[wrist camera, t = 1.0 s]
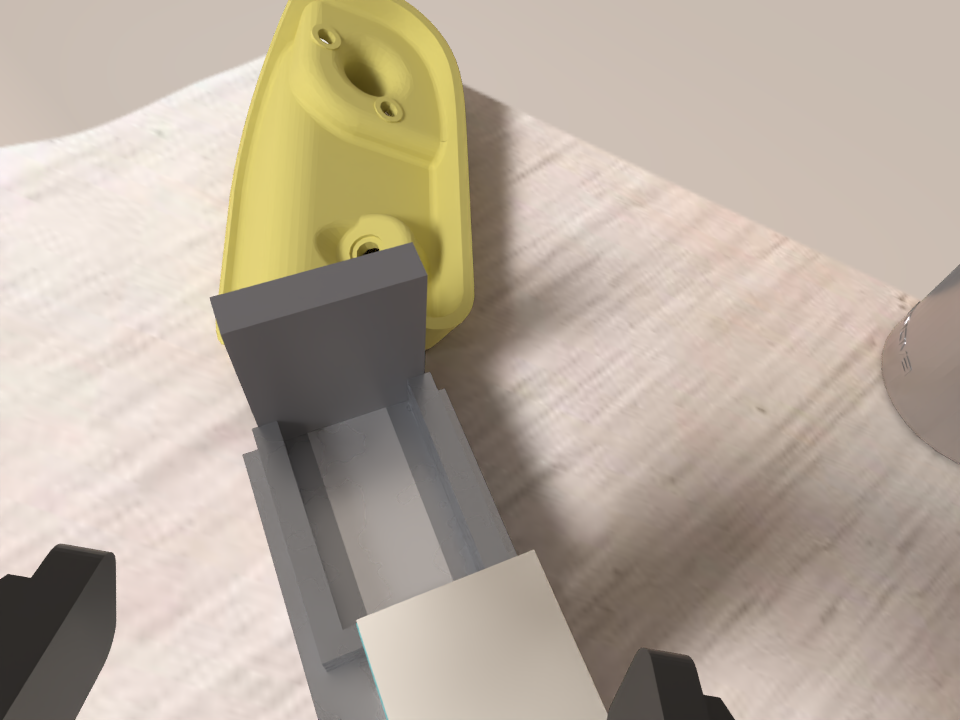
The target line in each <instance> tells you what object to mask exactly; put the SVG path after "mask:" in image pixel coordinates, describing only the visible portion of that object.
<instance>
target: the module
mask: <svg viewBox="0 0 960 720" xmlns="http://www.w3.org/2000/svg"><path fill="white" fill-rule="evenodd" d="M356 621H357V623H356V626H357V629H358V632H359V635H360V638H361V641H362V645H363V648H364V651H365V654H366V657H367V660H368V663H369V666H370V669H371V672H372V675H373V679H374V682H375V685H376V688H377V691H378V694H379V697H380V700H381V703H382V706H383V710H384V713H385V716H386V719H387V720H607V716H608V714H607V712H606V710H605V707H604V705H603V703H602V701H601V698H600V696H599V694H598V692H597V689H596V687H595V685H594V683H593V680H592V678H591V676H590V674H589V671H588V669H587V667H586V665H585V662H584V660H583V658H582V656H581V653H580V651H579V649H578V647H577V645H576V642H575V640H574V638H573V636H572V633H571V631H570V629H569V627H568V624H567V622H566V620H565V618H564V615H563V613H562V611H561V609H560V606H559V604H558V602H557V600H556V597H555V595H554V593H553V591H552V588H551V586H550V584H549V582H548V579H547V577H546V575H545V573H544V570H543V568H542V566H541V564H540V562H539V559H538V557H537V555H536V553H535V550H534V549H533V550H531V551H528V552H526V553H523V554H521V555H518V556H516V557H513V558H511V559H508V560H506V561H503V562H501V563H498V564H496V565H493V566H491V567H488V568H486V569H483V570H481V571H478V572H476V573H473V574H471V575H468V576H465V577H463V578H460V579H458V580H455V581H453V582H450V583H448V584H445V585H443V586H440V587H438V588H435V589H433V590H430V591H428V592H425V593H423V594H420V595H418V596H415V597H413V598H410V599H408V600H405V601H403V602H400V603H398V604H395V605H393V606H390V607H387V608H385V609H382V610H380V611H377V612H375V613H372V614H370V615H367V616H365V617H362V618H360V619H357V620H356Z"/></svg>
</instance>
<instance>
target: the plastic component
mask: <svg viewBox="0 0 960 720" xmlns="http://www.w3.org/2000/svg"><path fill="white" fill-rule="evenodd" d="M320 38H321V39H324V40H325V41H327V42H328V43H329V44H327V43H325V42H323V41H322V40H321V39H320ZM385 111H386V112H388V113H389V114H390V116H387V115H386V114H385ZM410 242H413V244H414V246H415V249H416V251H417V253H418V255H419V257H420V260H421V262H422V264H423V266H424V268H425V270H426V273H427V275H428V279H427V308H426V338H425V350H427V349H429V348H431V347H433V346H434V345H435V344H437V343H438V342H439V341H440V340H441V339H442V338H444V337H445V336H446V335H447V334H448V333H450V332H451V331H452V330H453V329H454V328H455V327H457V326H458V325H459V324H460V323H461V322H462V321H464V319H465V318H466V317H467V316H468V314H469V313H470V311H471V309H472V306H473V301H474V296H475V295H474V274H473V254H472V233H471V212H470V191H469V171H468V150H467V129H466V114H465V101H464V93H463V85H462V80H461V76H460V71H459V68H458V65H457V62H456V59H455V57H454V55H453V53H452V51H451V49H450V47H449V45H448V44H447V42H446V40H445V39H444V38H443V36H442V35H441V33H440V32H439V31H438V30H437V28H436V27H435V26H434V25H433V24H432V23H431V22H430V21H429V20H428V19H427V18H426V17H425V16H424V15H423V14H422V13H421V12H419V11H418V10H417V9H416V8H414V7H413V6H412V5H410V4H409V3H407V2H406V1H405V0H288V3H287V5H286V7H285V9H284V12H283V14H282V17H281V19H280V21H279V24H278V26H277V29H276V31H275V34H274V36H273V39H272V42H271V44H270V47H269V50H268V53H267V55H266V58H265V61H264V64H263V67H262V70H261V73H260V75H259V78H258V81H257V85H256V88H255V91H254V94H253V97H252V100H251V104H250V107H249V111H248V114H247V118H246V122H245V125H244V129H243V133H242V137H241V141H240V145H239V150H238V154H237V159H236V164H235V169H234V174H233V180H232V186H231V192H230V199H229V208H228V217H227V226H226V234H225V243H224V252H223V261H222V270H221V279H220V288H219V295H220V294H224V293H228V292H231V291H235V290H239V289H242V288H246V287H250V286H253V285H257V284H261V283H264V282H268V281H271V280H275V279H279V278H282V277H286V276H290V275H293V274H297V273H301V272H304V271H308V270H312V269H315V268H319V267H323V266H326V265H330V264H334V263H337V262H341V261H345V260H348V259H352V258H356V257H359V256H363V254H364V253H365V252H366V251H367V250H368V249H372V248H378V249H379V251H381V250H385V249H388V248H392V247H396V246H399V245H403V244H407V243H410ZM216 332H217V336H218V340H219V341H220V342H221V344H223V345H225V344H224V342H223V339H222V337H221V335H220V331H219V328H218V324H217V321H216Z"/></svg>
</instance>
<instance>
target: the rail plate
mask: <svg viewBox="0 0 960 720" xmlns="http://www.w3.org/2000/svg"><path fill="white" fill-rule="evenodd" d="M407 391H408V400H407V401H404V402H401V403H398V404H395V405H392V406H389V407H385V408H382V409H379V410H376V411H373V412H370V413H367V414H364V415H361V416H358V417H355V418H352V419H349V420H346V421H343V422H340V423H337V424H334V425H331V426H328V427H324V428H321V429H318V430H315V431H312V432H309V433H307V434H304V435H301V436H298V437H295V438H292V439H289V440H285V441H284V439H283V436H282V434H281V431H280V428H279V425H278V422H277V421H275V422H272V423H269V424H265V425H262V426H259V427H256V428H253V429H252V431H253V434H254V437H255V441H256V444H257V448H258V450H255V451H252V452H249V453H246V454H243V458H244V461H245V465H246V468H247V472H248V475H249V479H250V482H251V486H252V489H253V493H254V496H255V500H256V503H257V507H258V510H259V514H260V517H261V521H262V524H263V528H264V531H265V535H266V538H267V542H268V545H269V549H270V552H271V556H272V559H273V563H274V566H275V570H276V573H277V577H278V581H279V584H280V588H281V591H282V595H283V598H284V602H285V605H286V609H287V612H288V616H289V619H290V623H291V626H292V630H293V633H294V637H295V640H296V644H297V647H298V651H299V654H300V658H301V661H302V665H303V668H304V672H305V675H306V679H307V682H308V686H309V689H310V693H311V696H312V700H313V703H314V707H315V710H316V714H317V717H318V720H387V719H386V716H385V713H384V710H383V706H382V703H381V700H380V697H379V694H378V691H377V688H376V685H375V682H374V679H373V675H372V672H371V669H370V666H369V663H368V660H367V657H366V654H365V651H364V648H363V645H362V641H361V638H360V635H359V632H358V629H357V626H356V623H357V621H356V620H357V619H360V618H362V617H365V616H367V615H370V614H372V613H375V612H377V611H380V610H382V609H385V608H387V607H390V606H393V605H395V604H398V603H400V602H403V601H405V600H408V599H410V598H413V597H415V596H418V595H420V594H423V593H425V592H428V591H430V590H433V589H435V588H438V587H440V586H443V585H445V584H448V583H450V582H453V581H455V580H458V579H460V578H463V577H465V576H468V575H471V574H473V573H476V572H478V571H481V570H483V569H486V568H488V567H491V566H493V565H496V564H498V563H501V562H503V561H506V560H508V559H511V558H513V557H516V556H517V554H516V551H515V549H514V547H513V544H512V542H511V540H510V537H509V535H508V533H507V531H506V528H505V526H504V524H503V521H502V519H501V517H500V514H499V512H498V510H497V508H496V505H495V503H494V501H493V498H492V496H491V494H490V491H489V489H488V487H487V484H486V482H485V480H484V478H483V475H482V473H481V471H480V468H479V466H478V464H477V461H476V459H475V457H474V455H473V452H472V450H471V448H470V445H469V443H468V441H467V438H466V436H465V434H464V431H463V429H462V427H461V425H460V422H459V420H458V418H457V415H456V413H455V411H454V408H453V406H452V404H451V402H450V399H449V397H448V395H447V392H446V390H445V388H444V389H441V390H438V389H437V387H436V385H435V382H434V380H433V378H432V375H431V373H430V372H428V373H424V374H421V375H418V376H415V377H412V378H409V379H407Z"/></svg>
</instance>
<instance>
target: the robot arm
mask: <svg viewBox="0 0 960 720" xmlns="http://www.w3.org/2000/svg"><path fill="white" fill-rule="evenodd" d="M881 369H882V374H883V379H884V384H885V387H886V390H887V392H888V394H889V396H890V399H891V401H892V403H893V405H894V407H895V408H896V410H897V411H898V413H899V414H900V416H901V417H902V419H903V420H904V422H905V423H906V424H907V425H908V426H909V427H910V428H911V429H912V430H913V431H914V432H915V433H916V434H917V435H918V436H919V438H921V439H922V440H923V441H924V442H926V443H927V444H928V445H930V446H931V447H932V448H933V449H935V450H936V451H937V452H939V453H941V454H942V455H944V456H946V457H948V458H949V459H951V460H953V461H955V462H956V463H958V464H960V265H958V266H957V267H956V268H955V269H954V270H953V271H952V272H951V274H949V275H948V276H947V277H946V278H945V279H944V280H943V281H942V282H941V283H940V284H939V285H938V286H937V287H936V288H935V289H934V290H932V291H931V292H930V293H929V294H928V295H927V296H926V297H925V298H924V299H923V300H922V301H921V302H919V303H918V304H917V305H916V306H914V307H913V308H912V310H911V311H910V312H909V313H908V314H907V316H906V317H905V318H904V319H903V320H901V321H900V322H899V323H898V324H897V325H896V326H895V327H894V329H893V330H892V332H891V333H890V335H889V336H888V337H887V339H886V342H885V345H884V348H883V352H882V368H881ZM115 628H116V560H115V555H114V554H113V553H112V552H106V551H101V550H95V549H89V548H84V547H78V546H72V545H67V544H58V545H56V546H55V547H54V548H53V549H52V550H51V551H50V552H49V554H48V555H47V556H46V558H45V559H44V561H43V562H42V563H41V565H40V566H39V568H38V569H37V570H36V572H35V573H34V575H33V576H32V577H31V578H28V577H22V576H16V575H10V574H7V575H6V576H4V577H3V578H1V579H0V720H75V719H76V717H77V715H78V713H79V711H80V709H81V707H82V706H83V704H84V702H85V700H86V698H87V696H88V694H89V692H90V690H91V689H92V687H93V685H94V683H95V681H96V679H97V677H98V675H99V673H100V671H101V670H102V668H103V666H104V664H105V661H106V659H107V657H108V654H109V651H110V648H111V645H112V642H113V638H114V633H115ZM607 720H735V719H734V718H733V716H732V715H731V713H730V712H729V710H728V709H727V707H726V706H725V704H724V703H723V701H722V700H721V698H719V697H713V696H707V695H703V692H702V688H701V685H700V681H699V677H698V673H697V670H696V667H695V664H694V662H693V660H692V659H691V657H689V656H687V655H682V654H677V653H671V652H665V651H660V650H654V649H648V648H641V649H639V650H638V652H637V653H636V655H635V657H634V659H633V661H632V663H631V665H630V667H629V669H628V671H627V673H626V675H625V677H624V679H623V681H622V683H621V686H620V688H619V690H618V692H617V694H616V696H615V698H614V700H613V702H612V704H611V706H610V709H609V712H608V716H607Z"/></svg>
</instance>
